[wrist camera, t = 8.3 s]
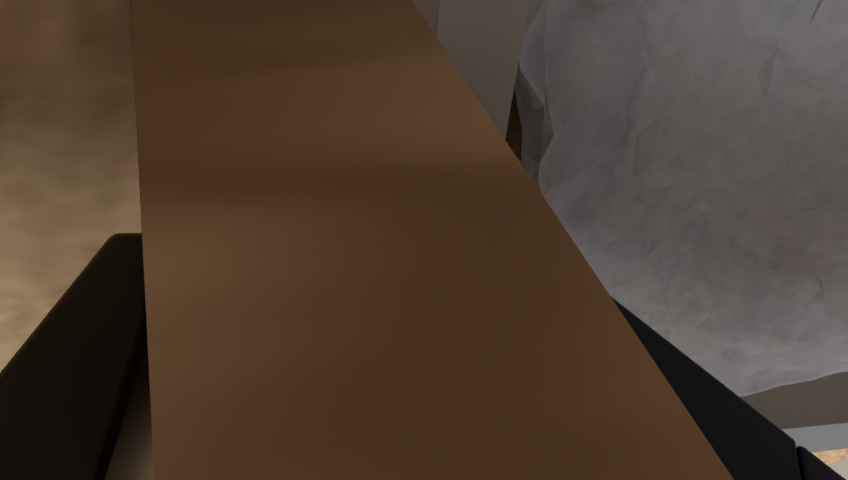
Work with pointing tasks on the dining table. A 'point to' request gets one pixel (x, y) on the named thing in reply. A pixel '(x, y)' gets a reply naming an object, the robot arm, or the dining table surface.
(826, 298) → the stone block
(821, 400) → the frame
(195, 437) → the block
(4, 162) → the dining table surface
